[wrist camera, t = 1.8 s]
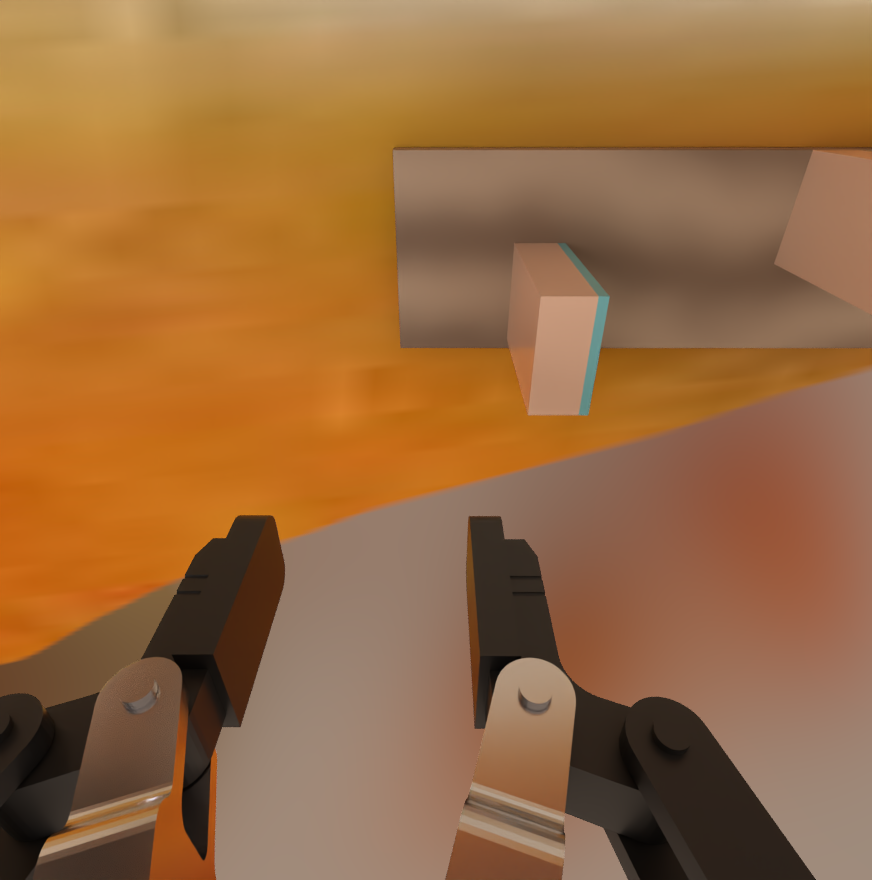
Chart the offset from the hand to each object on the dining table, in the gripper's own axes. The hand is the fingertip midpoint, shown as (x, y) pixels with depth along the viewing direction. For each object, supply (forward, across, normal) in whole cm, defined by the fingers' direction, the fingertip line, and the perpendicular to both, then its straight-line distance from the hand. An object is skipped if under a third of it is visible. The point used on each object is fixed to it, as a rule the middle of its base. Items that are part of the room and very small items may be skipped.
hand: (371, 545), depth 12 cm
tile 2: (+18, -20, -4) cm, 27 cm away
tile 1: (+18, -6, 0) cm, 19 cm away
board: (+19, -14, -2) cm, 24 cm away
